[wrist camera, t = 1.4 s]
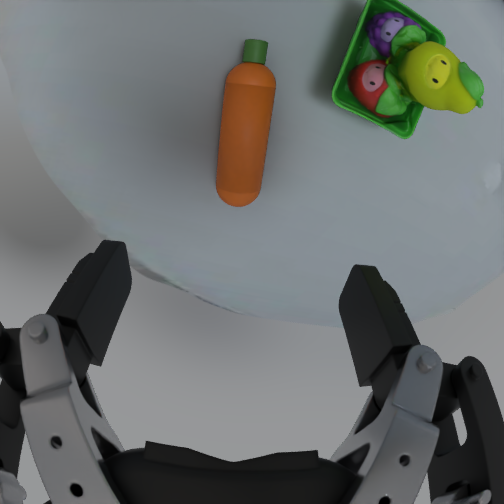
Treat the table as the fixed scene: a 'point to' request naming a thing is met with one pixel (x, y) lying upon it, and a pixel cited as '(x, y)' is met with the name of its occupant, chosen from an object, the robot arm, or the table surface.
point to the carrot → (245, 126)
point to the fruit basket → (402, 70)
